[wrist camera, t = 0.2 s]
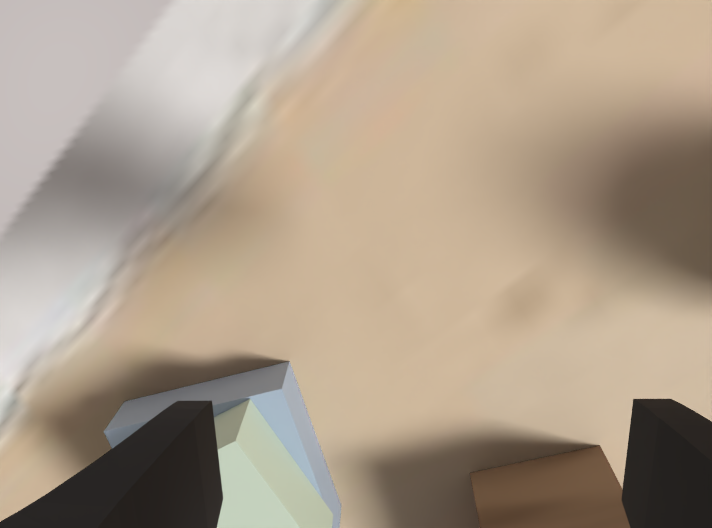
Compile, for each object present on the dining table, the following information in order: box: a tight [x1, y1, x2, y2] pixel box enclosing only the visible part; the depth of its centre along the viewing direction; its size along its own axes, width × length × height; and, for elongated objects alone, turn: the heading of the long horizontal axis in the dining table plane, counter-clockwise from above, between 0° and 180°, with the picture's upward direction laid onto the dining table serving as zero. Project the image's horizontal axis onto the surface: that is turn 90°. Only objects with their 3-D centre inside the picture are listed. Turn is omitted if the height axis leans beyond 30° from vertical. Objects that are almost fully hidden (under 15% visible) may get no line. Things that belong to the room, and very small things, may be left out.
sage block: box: [214, 399, 333, 528], centre depth 21 cm, size 5×5×2 cm
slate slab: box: [104, 361, 341, 528], centre depth 23 cm, size 6×6×2 cm
